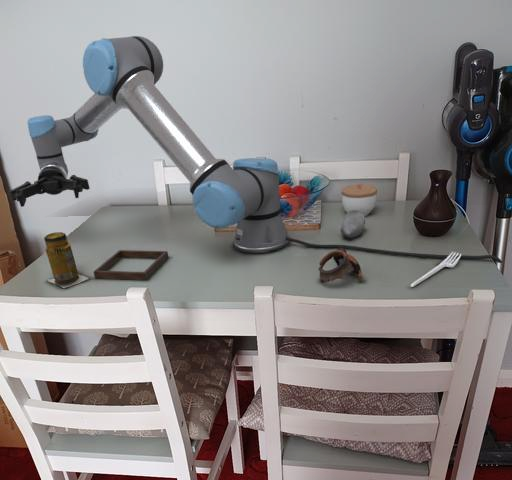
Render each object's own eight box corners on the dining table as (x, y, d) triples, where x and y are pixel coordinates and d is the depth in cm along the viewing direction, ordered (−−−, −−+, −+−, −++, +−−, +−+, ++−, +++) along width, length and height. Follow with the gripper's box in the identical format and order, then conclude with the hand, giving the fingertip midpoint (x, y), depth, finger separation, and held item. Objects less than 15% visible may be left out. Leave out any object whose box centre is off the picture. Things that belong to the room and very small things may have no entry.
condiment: (72, 271, 141) (60, 228, 134) (89, 279, 135) (77, 234, 129) (47, 281, 136) (33, 237, 130) (64, 289, 131) (50, 244, 125)
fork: (405, 286, 118) (405, 278, 117) (450, 257, 129) (451, 250, 128) (418, 290, 116) (418, 282, 115) (462, 260, 127) (463, 253, 126)
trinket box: (335, 212, 166) (335, 182, 161) (366, 206, 168) (367, 177, 164) (350, 221, 157) (351, 190, 152) (382, 216, 160) (384, 185, 155)
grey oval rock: (334, 234, 141) (343, 204, 140) (341, 235, 154) (348, 208, 152) (357, 239, 140) (366, 209, 138) (362, 241, 153) (370, 213, 151)
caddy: (168, 257, 144) (167, 251, 143) (146, 280, 132) (145, 273, 131) (120, 256, 147) (119, 250, 146) (95, 278, 135) (93, 271, 134)
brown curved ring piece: (367, 289, 119) (352, 264, 114) (330, 304, 123) (313, 281, 118) (363, 256, 127) (348, 232, 122) (328, 272, 131) (312, 249, 126)
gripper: (99, 185, 156) (101, 203, 138) (11, 198, 151) (2, 219, 133) (93, 159, 152) (94, 174, 134) (3, 172, 147) (-8, 189, 130)
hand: (48, 197), depth 134 cm, fingers open, 13 cm apart
